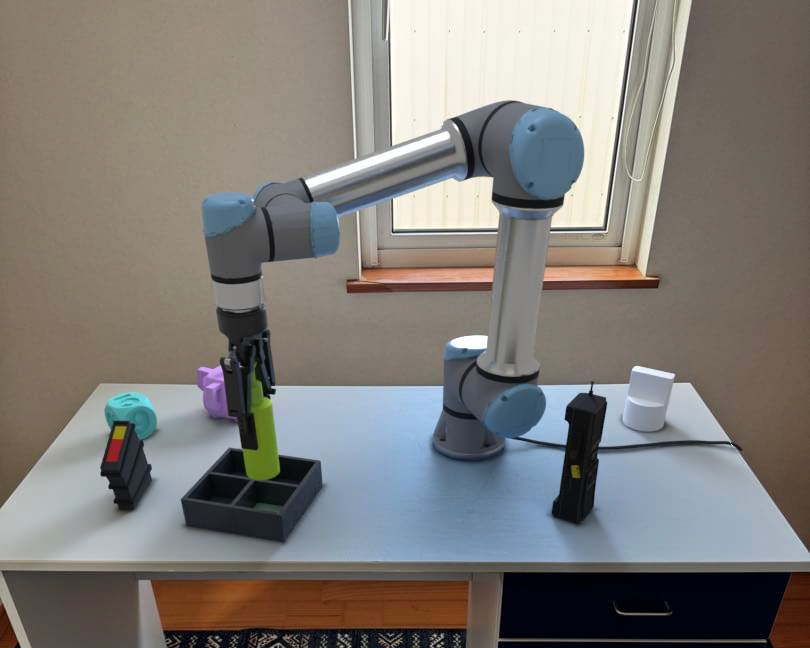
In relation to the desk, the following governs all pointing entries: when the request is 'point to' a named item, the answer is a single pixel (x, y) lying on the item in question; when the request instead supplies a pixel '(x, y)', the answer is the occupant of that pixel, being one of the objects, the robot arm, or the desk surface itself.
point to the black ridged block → (126, 465)
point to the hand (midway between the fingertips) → (258, 438)
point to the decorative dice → (132, 412)
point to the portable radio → (580, 457)
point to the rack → (252, 497)
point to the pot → (213, 391)
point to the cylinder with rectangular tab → (647, 399)
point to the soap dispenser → (262, 436)
